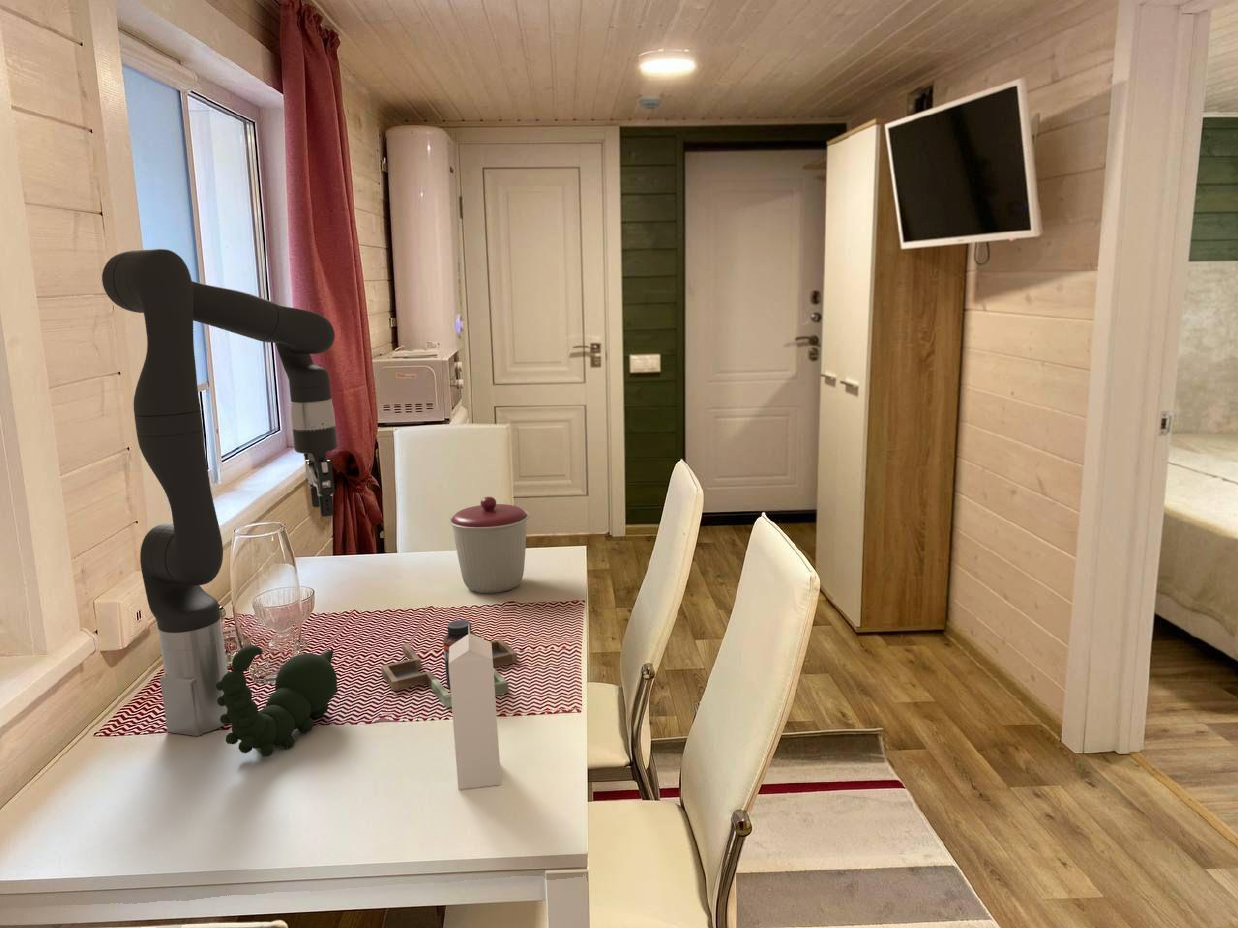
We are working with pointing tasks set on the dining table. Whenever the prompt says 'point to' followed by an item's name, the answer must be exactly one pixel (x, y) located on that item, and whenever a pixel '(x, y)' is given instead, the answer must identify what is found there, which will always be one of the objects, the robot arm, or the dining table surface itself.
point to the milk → (474, 712)
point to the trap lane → (409, 676)
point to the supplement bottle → (454, 639)
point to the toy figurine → (276, 700)
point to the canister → (491, 545)
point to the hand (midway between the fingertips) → (322, 511)
